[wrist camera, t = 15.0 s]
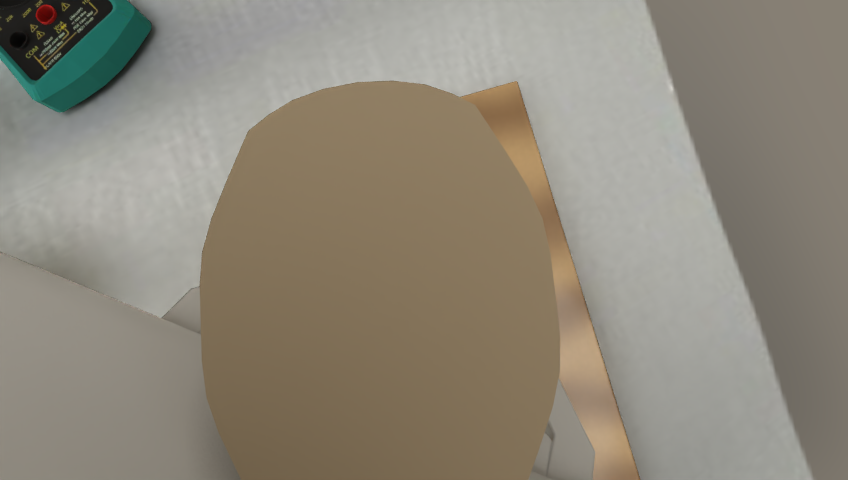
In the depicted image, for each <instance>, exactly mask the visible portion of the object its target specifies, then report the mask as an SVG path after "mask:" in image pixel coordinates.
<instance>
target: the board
mask: <svg viewBox="0 0 848 480" xmlns="http://www.w3.org/2000/svg"><path fill="white" fill-rule="evenodd" d="M460 98H462V99H464V100H466V101H468V102H470V103H472V104H474V105H476V107H477V108H478V110H479V111H480V113H481V114H482V116H483V117H484V119H485V121H486V122H487V124H488V125H489V127H490V128H491V130H492V131H493V133H494V134H495V136H496V137H497V139H498V140H499V142H500V143H501V145H502V146H503V148H504V149H505V151H506V152H507V154H508V156H509V157H510V159H511V160H512V162H513V164H514V165H515V167H516V168H517V170H518V172H519V173H520V175H521V176H522V178H523V180H524V181H525V183H526V184H527V186H528V188H529V190H530V193H531V195H532V197H533V199H534V201H535V203H536V205H537V208H538V210H539V212H540V214H541V216H542V218H543V223H544V227H545V231H546V236H547V240H548V245H549V249H550V253H551V261H552V270H553V278H554V286H555V295H556V303H557V311H558V320H559V328H560V374H559V380H560V382H561V384H562V386H563V388H564V390H565V392H566V394H567V396H568V398H569V400H570V402H571V404H572V406H573V408H574V410H575V412H576V414H577V416H578V418H579V420H580V422H581V424H582V426H583V428H584V430H585V432H586V434H587V436H588V438H589V440H590V442H591V444H592V446H593V448H594V450H595V460H594V470H593V480H640V477H639V474H638V470H637V467H636V464H635V461H634V457H633V454H632V451H631V448H630V444H629V441H628V438H627V435H626V431H625V428H624V425H623V422H622V419H621V415H620V412H619V409H618V406H617V402H616V399H615V396H614V393H613V389H612V386H611V383H610V380H609V377H608V373H607V370H606V367H605V364H604V360H603V357H602V354H601V351H600V347H599V344H598V341H597V338H596V334H595V331H594V328H593V325H592V322H591V318H590V315H589V312H588V309H587V305H586V302H585V299H584V296H583V292H582V289H581V286H580V283H579V279H578V276H577V273H576V270H575V267H574V263H573V260H572V257H571V254H570V250H569V247H568V244H567V241H566V237H565V234H564V231H563V228H562V225H561V221H560V218H559V215H558V212H557V208H556V205H555V202H554V199H553V195H552V192H551V189H550V186H549V182H548V179H547V176H546V173H545V170H544V166H543V163H542V160H541V157H540V153H539V150H538V147H537V144H536V140H535V137H534V134H533V131H532V128H531V124H530V121H529V118H528V115H527V111H526V108H525V105H524V102H523V98H522V95H521V92H520V89H519V85H518V82H517V81H515V82H511V83H508V84H504V85H501V86H497V87H494V88H490V89H487V90H483V91H480V92H476V93H473V94H469V95H466V96H462V97H460Z"/></svg>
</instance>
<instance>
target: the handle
mask: <svg viewBox="0 0 848 480" xmlns="http://www.w3.org/2000/svg"><path fill="white" fill-rule="evenodd" d="M200 318H201V353H202V367H203V375H204V383H205V391H206V398H207V401H208V404H209V407H210V409H211V412H212V415H213V418H214V421H215V424H216V427H217V430H218V433H219V435H220V437H221V439H222V441H223V443H224V445H225V447H226V449H227V451H228V454H229V456H230V458H231V460H232V462H233V464H234V466H235V468H236V470H237V472H238V474H239V476H240V478H241V480H528V479H529V476H530V474H531V471H532V468H533V465H534V462H535V460H536V457H537V454H538V451H539V448H540V445H541V442H542V439H543V436H544V433H545V430H546V427H547V423H548V420H549V417H550V414H551V411H552V408H553V404H554V399H555V394H556V389H557V384H558V379H559V374H560V328H559V320H558V311H557V303H556V295H555V286H554V278H553V270H552V261H551V253H550V249H549V245H548V240H547V236H546V231H545V227H544V223H543V218H542V216H541V214H540V212H539V210H538V208H537V205H536V203H535V201H534V199H533V197H532V195H531V193H530V190H529V188H528V186H527V184H526V183H525V181H524V180H523V178H522V176H521V175H520V173H519V172H518V170H517V168H516V167H515V165H514V164H513V162H512V160H511V159H510V157H509V156H508V154H507V152H506V151H505V149H504V148H503V146H502V145H501V143H500V142H499V140H498V139H497V137H496V136H495V134H494V133H493V131H492V130H491V128H490V127H489V125H488V124H487V122H486V121H485V119H484V117H483V116H482V114H481V113H480V111H479V110H478V108H477V107H476V105H474V104H472V103H470V102H468V101H466V100H464V99H462V98H460V97H458V96H456V95H454V94H452V93H449V92H446V91H443V90H440V89H437V88H434V87H431V86H428V85H425V84H416V83H408V82H399V81H376V82H356V83H351V84H346V85H341V86H336V87H331V88H326V89H322V90H319V91H316V92H314V93H311V94H308V95H305V96H303V97H300V98H297V99H294V100H292V101H290V102H289V103H287V104H285V105H284V106H282V107H280V108H279V109H277V110H276V111H274V112H272V113H271V114H269V115H268V116H266V117H265V118H264V119H263V120H261V121H260V122H259V123H258V124H256V125H255V126H254V127H253V128H251V129H250V130H249V131H248V133H247V135H246V137H245V139H244V142H243V144H242V146H241V149H240V151H239V153H238V156H237V158H236V160H235V163H234V165H233V167H232V170H231V172H230V174H229V176H228V179H227V181H226V184H225V186H224V189H223V191H222V194H221V196H220V199H219V201H218V204H217V206H216V208H215V211H214V213H213V216H212V218H211V222H210V226H209V229H208V233H207V236H206V240H205V244H204V247H203V251H202V261H201V275H200Z"/></svg>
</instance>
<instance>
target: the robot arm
mask: <svg viewBox="0 0 848 480" xmlns="http://www.w3.org/2000/svg"><path fill="white" fill-rule="evenodd" d="M594 460H595V450H594V448H593V446H592V444H591V442H590V440H589V438H588V436H587V434H586V432H585V430H584V428H583V426H582V424H581V422H580V420H579V418H578V416H577V414H576V412H575V410H574V408H573V406H572V404H571V402H570V400H569V398H568V396H567V394H566V392H565V390H564V388H563V386H562V384H561V382H560V380H559V379H558V384H557V389H556V394H555V399H554V404H553V408H552V411H551V414H550V417H549V420H548V423H547V427H546V430H545V433H544V436H543V439H542V442H541V445H540V448H539V451H538V454H537V457H536V460H535V462H534V465H533V468H532V471H531V474H530V476H529V479H528V480H593V470H594ZM0 480H241V478H240V476H239V474H238V472H237V470H236V468H235V466H234V464H233V462H232V460H231V458H230V456H229V454H228V451H227V449H226V447H225V445H224V443H223V441H222V439H221V437H220V435H219V433H218V430H217V427H216V424H215V421H214V418H213V415H212V412H211V409H210V407H209V404H208V401H207V398H206V391H205V383H204V375H203V367H202V353H201V318H200V286H199V287H195V288H192V289H190V290H189V291H188V292H187V293H186V294H185V295H184V296H183V297H182V298H181V299H180V300H179V301H178V302H177V303H176V304H175V305H174V306H173V307H172V308H171V309H170V310H169V311H168V312H167V313H166V314H165V315H164V316H163V317H162V318H160V317H157V316H155V315H152V314H150V313H148V312H145V311H143V310H140V309H138V308H135V307H133V306H131V305H128V304H126V303H123V302H121V301H118V300H116V299H114V298H111V297H109V296H106V295H104V294H101V293H99V292H97V291H94V290H92V289H89V288H87V287H84V286H82V285H80V284H77V283H75V282H72V281H70V280H67V279H65V278H63V277H60V276H58V275H55V274H53V273H51V272H48V271H46V270H43V269H41V268H38V267H36V266H34V265H31V264H29V263H26V262H24V261H21V260H19V259H17V258H14V257H12V256H9V255H7V254H4V253H2V252H0Z"/></svg>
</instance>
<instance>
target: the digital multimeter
mask: <svg viewBox="0 0 848 480" xmlns="http://www.w3.org/2000/svg"><path fill="white" fill-rule="evenodd" d="M150 30H151V23H150V21H149V20H148V19H147V18H146V17H145V16H144V15H142V14H141V13H140V12H139V11H138V10H137V9H136V8H135V7H134V6H133V5H132V4H131V3H129V2H128V1H127V0H0V59H1V60H2V61H3V63H4V64H5V65H6V66H7V67H8V69H9V70H10V71H11V72H12V74H13V75H14V76H15V77H16V79H17V80H18V81H19V83H20V84H21V85H22V86H23V88H24V89H25V90H26V91H27V93H28V94H29V95H30V96H31V98H32V99H33V100H35V101H37V102H39V103H41V104H43V105H45V106H47V107H49V108H51V109H53V110H55V111H57V112H65V111H66V110H68V109H70V108H71V107H73V106H75V105H76V104H78V103H80V102H81V101H83V100H85V99H86V98H88V97H89V96H91V95H92V94H94V93H95V92H96V91H98V90H99V89H101V88H102V87H103V86H105V85H106V84H107V83H108V82H109V81H110V80H111V79H112V78H114V77H115V76H116V75H117V74H118V73H119V72H120V71H121V70H122V69H123V68H124V66H125V65H126V64H127V63H128V61H129V60H130V59H131V58H132V56H133V55H134V54H135V52H136V51H137V50H138V48H139V47H140V45H141V44H142V42H143V41H144V39H145V38H146V36H147V35H148V33H149V32H150Z"/></svg>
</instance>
